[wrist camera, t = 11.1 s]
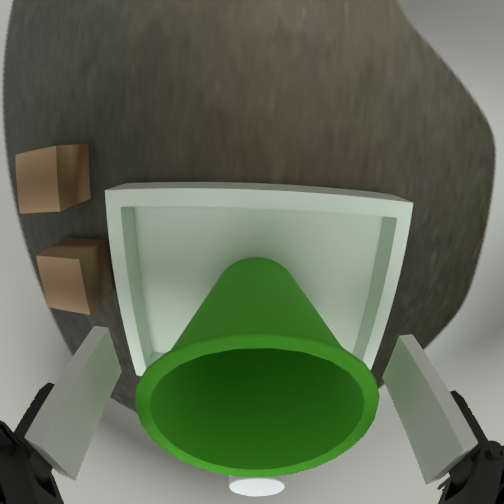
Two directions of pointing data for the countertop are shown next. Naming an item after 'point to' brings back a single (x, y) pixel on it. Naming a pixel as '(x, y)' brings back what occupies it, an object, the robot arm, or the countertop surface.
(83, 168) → the walnut block
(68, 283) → the walnut block
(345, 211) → the tray
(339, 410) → the cup
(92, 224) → the countertop surface
